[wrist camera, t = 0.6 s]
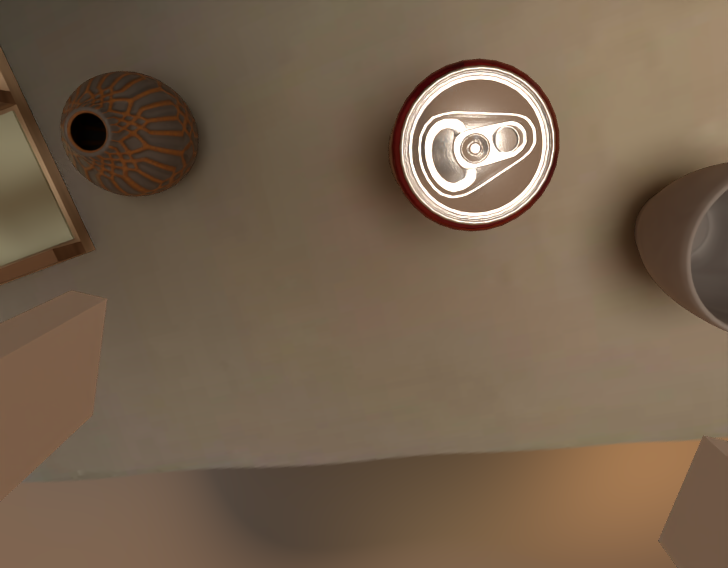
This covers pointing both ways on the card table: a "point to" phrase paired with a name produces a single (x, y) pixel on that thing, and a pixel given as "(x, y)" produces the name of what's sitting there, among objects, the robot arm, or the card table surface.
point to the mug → (689, 242)
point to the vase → (129, 133)
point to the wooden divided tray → (31, 193)
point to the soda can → (474, 145)
